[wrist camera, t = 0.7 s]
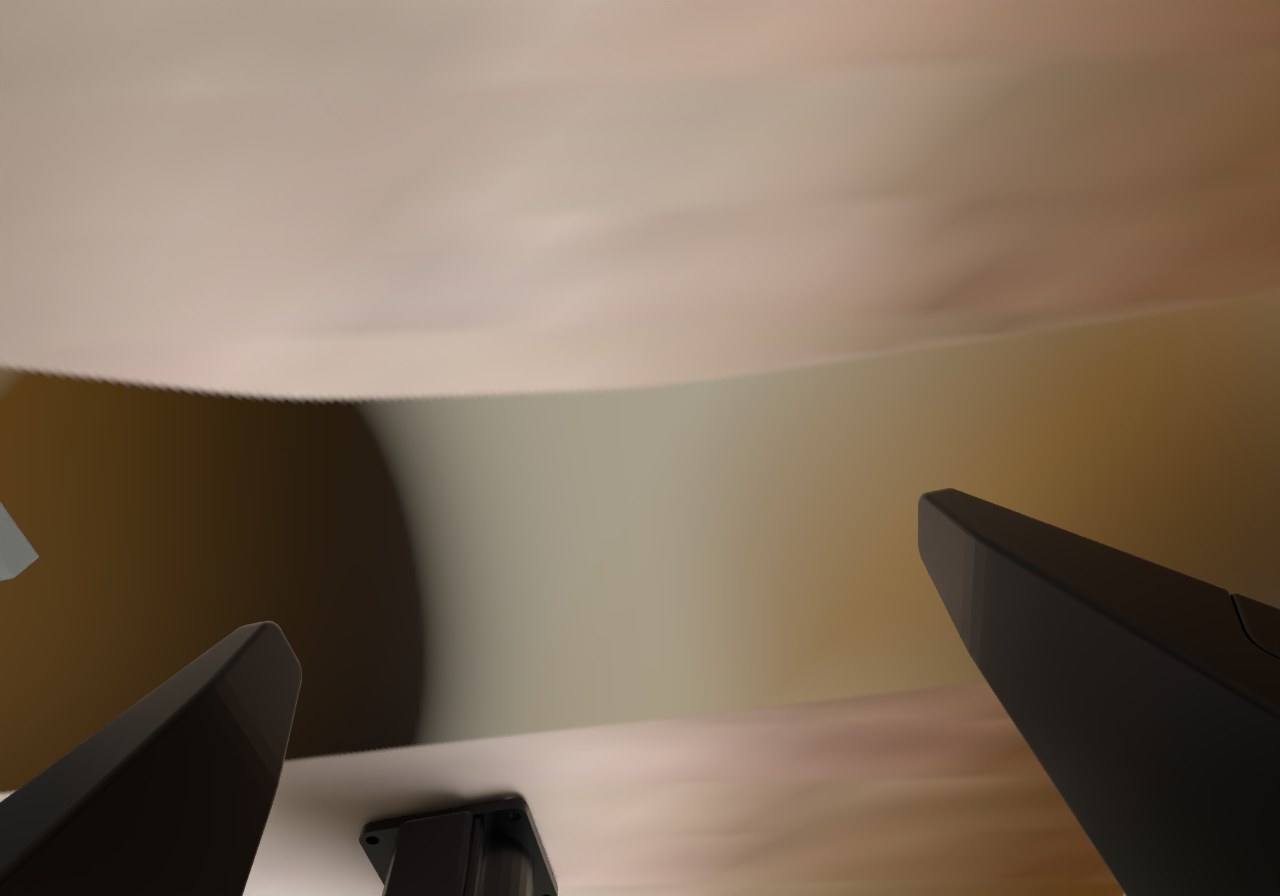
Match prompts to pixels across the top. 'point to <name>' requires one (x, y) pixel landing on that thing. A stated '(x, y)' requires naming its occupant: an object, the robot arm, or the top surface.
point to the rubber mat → (13, 548)
